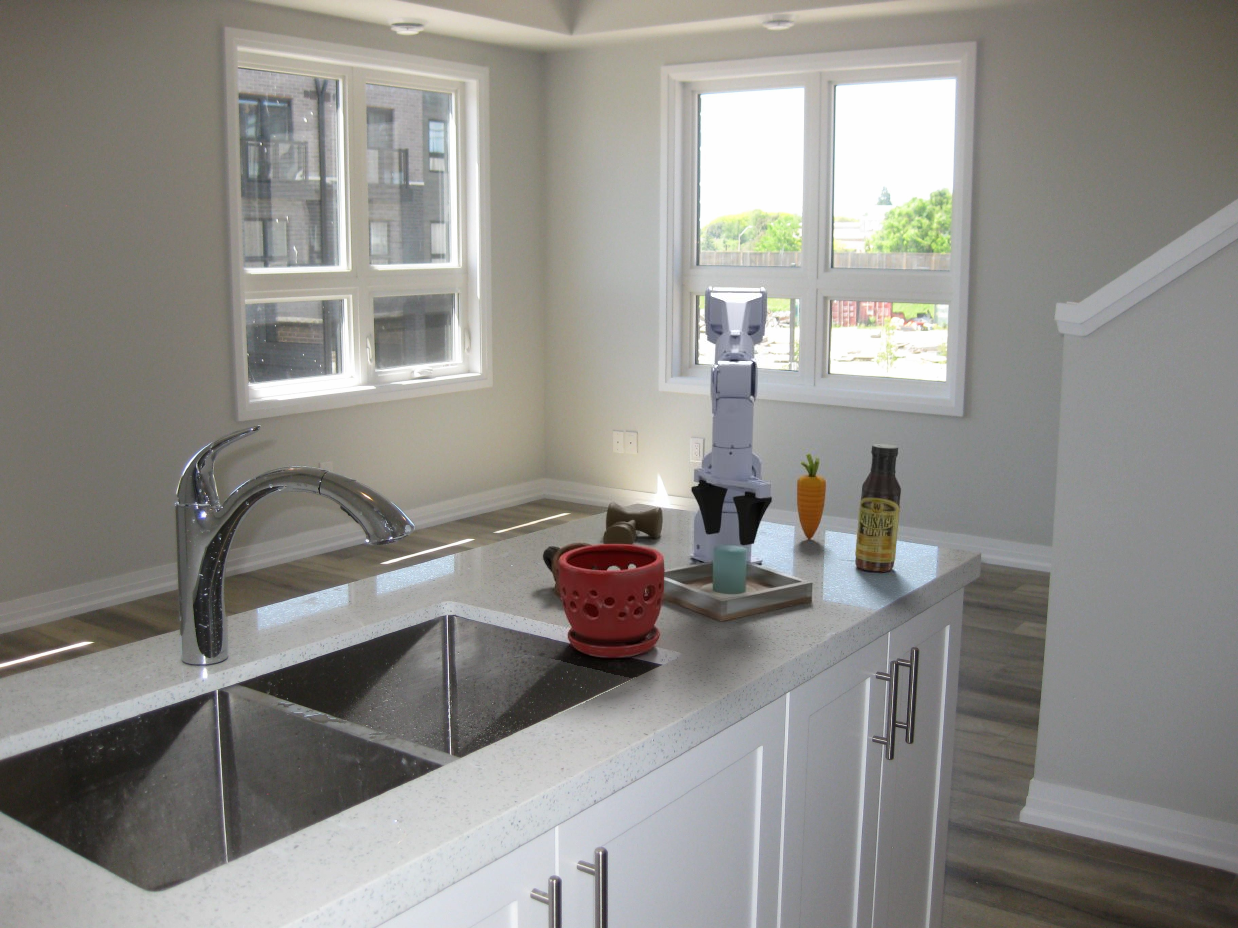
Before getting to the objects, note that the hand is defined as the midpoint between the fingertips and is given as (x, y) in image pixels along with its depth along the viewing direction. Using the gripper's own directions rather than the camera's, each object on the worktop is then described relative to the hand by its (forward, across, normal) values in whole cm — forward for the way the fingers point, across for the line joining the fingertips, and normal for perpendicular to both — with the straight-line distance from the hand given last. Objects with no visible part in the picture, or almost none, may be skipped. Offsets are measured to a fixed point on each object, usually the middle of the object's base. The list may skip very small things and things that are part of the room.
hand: (729, 538), depth 166 cm
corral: (+9, 0, 0) cm, 9 cm away
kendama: (+9, -36, +8) cm, 38 cm away
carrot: (+9, -19, +35) cm, 41 cm away
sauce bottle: (+9, +1, +30) cm, 31 cm away
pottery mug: (+9, -15, -17) cm, 24 cm away
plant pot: (+9, +9, -27) cm, 30 cm away
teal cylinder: (+8, 0, 0) cm, 8 cm away
